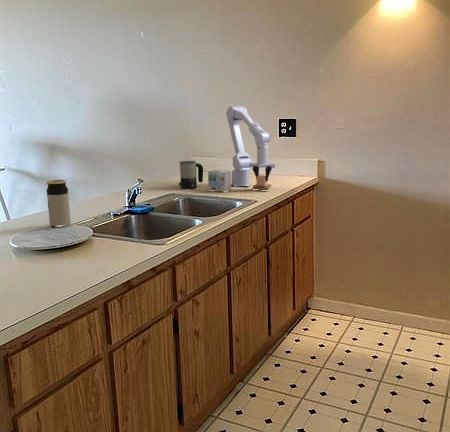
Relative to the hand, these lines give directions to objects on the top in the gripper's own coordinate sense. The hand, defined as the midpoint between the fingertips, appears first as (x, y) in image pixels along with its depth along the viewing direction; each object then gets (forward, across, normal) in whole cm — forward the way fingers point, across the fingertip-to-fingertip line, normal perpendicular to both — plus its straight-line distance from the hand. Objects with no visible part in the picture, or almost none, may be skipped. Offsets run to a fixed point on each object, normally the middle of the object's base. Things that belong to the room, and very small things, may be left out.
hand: (262, 180), depth 277 cm
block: (+2, 0, 0) cm, 2 cm away
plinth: (+5, 0, 0) cm, 5 cm away
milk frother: (+5, -42, -4) cm, 43 cm away
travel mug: (+5, -56, -98) cm, 113 cm away
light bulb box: (+5, -21, -9) cm, 23 cm away
